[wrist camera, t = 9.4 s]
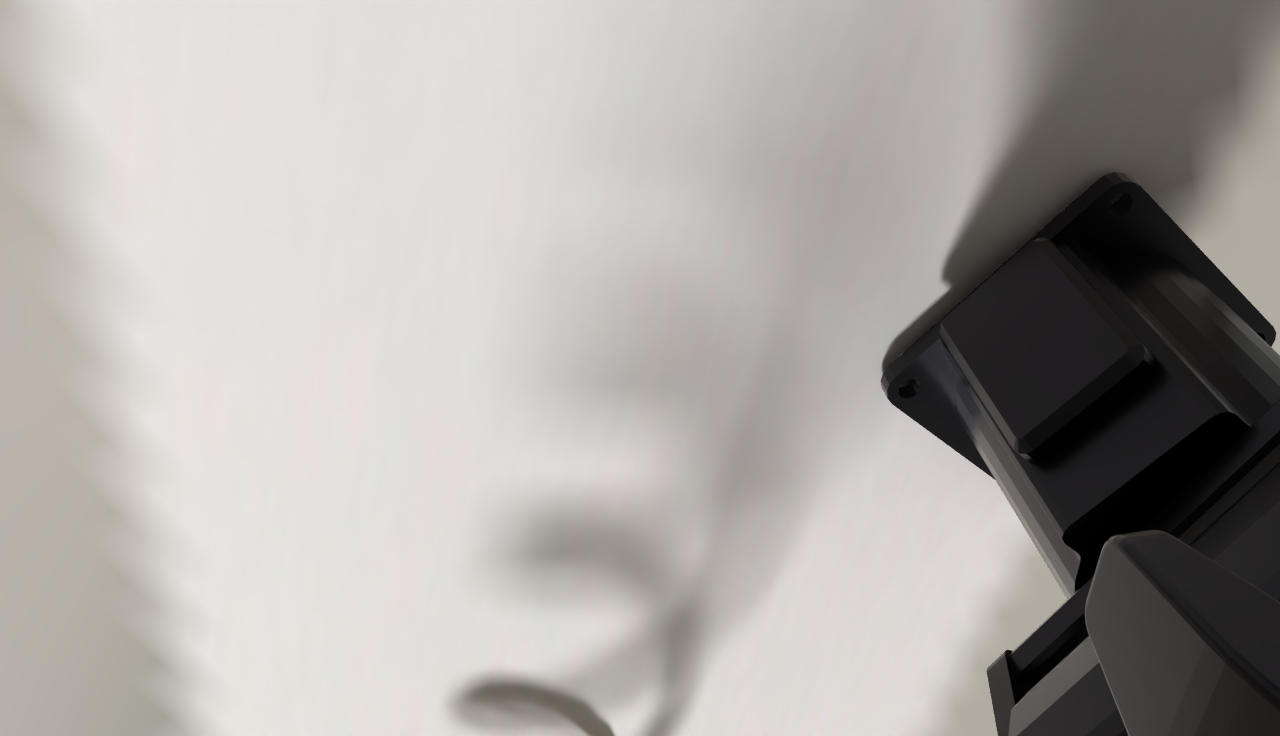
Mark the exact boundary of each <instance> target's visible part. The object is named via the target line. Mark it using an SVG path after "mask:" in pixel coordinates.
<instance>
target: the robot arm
mask: <svg viewBox="0 0 1280 736" xmlns="http://www.w3.org/2000/svg"><path fill="white" fill-rule="evenodd" d="M1121 193H1122V196H1121V198H1120V199H1119V201H1118V202H1117V203H1115V204H1114V205H1112V206H1109V207H1107V206H1108V203H1109V201H1110V200H1111V199H1112V198H1113V197H1114V196H1116V195H1118V194H1121ZM1275 337H1276V332H1275V330H1274V327H1273V326H1272V325H1271V324H1270V323H1269V322H1268V321H1267V320H1266V319H1265V318H1264V317H1263V316H1262V314H1261V313H1259V311H1258V310H1257V309H1256V308H1255V307H1254V306H1253V305H1252V304H1251V303H1250V302H1249V301H1248V300H1247V299H1246V298H1245V296H1244V295H1243V294H1242V293H1241V292H1240V291H1239V290H1238V289H1237V288H1236V287H1235V286H1234V285H1233V284H1232V283H1231V282H1230V281H1229V280H1228V278H1227V277H1226V276H1225V275H1224V274H1223V273H1222V272H1221V271H1220V270H1219V269H1218V268H1217V267H1216V266H1215V265H1214V264H1213V263H1212V261H1211V260H1210V259H1209V258H1208V257H1207V256H1206V255H1205V254H1204V253H1203V252H1202V251H1201V250H1200V249H1199V248H1198V247H1197V246H1196V245H1195V243H1194V242H1193V241H1192V240H1191V239H1190V238H1189V237H1188V236H1187V235H1186V234H1185V233H1184V232H1183V231H1182V230H1181V229H1180V228H1179V227H1178V225H1177V224H1176V223H1175V222H1174V221H1173V220H1172V219H1171V218H1170V217H1169V216H1168V215H1167V214H1166V213H1165V212H1164V211H1163V210H1162V209H1161V207H1160V206H1159V205H1158V204H1157V203H1156V202H1155V201H1154V200H1153V199H1152V198H1151V197H1150V196H1149V195H1148V194H1147V193H1146V192H1145V191H1144V189H1143V188H1142V187H1141V186H1140V185H1138V184H1137V183H1136V182H1135V181H1134V180H1133V179H1132V178H1131V177H1129V176H1127V175H1126V174H1124V173H1112V174H1108V175H1105V176H1104V177H1102V178H1101V179H1099V180H1098V181H1096V182H1095V183H1094V184H1093V185H1092V186H1090V187H1089V188H1088V189H1087V190H1086V191H1085V192H1084V193H1083V194H1082V195H1080V196H1079V197H1078V198H1077V199H1076V200H1075V201H1074V202H1073V203H1071V204H1070V205H1069V206H1068V207H1067V208H1066V209H1065V210H1064V211H1062V212H1061V213H1060V214H1059V215H1058V216H1057V217H1056V218H1055V219H1054V220H1052V221H1051V222H1050V223H1049V224H1048V225H1047V226H1046V227H1045V228H1043V229H1042V230H1041V231H1040V232H1039V233H1038V234H1037V235H1036V236H1034V237H1033V238H1032V239H1031V240H1030V241H1029V242H1028V243H1027V244H1026V245H1024V246H1023V247H1022V248H1021V249H1020V250H1019V251H1018V252H1017V253H1015V254H1014V255H1013V256H1012V257H1011V258H1010V259H1009V260H1008V261H1006V262H1005V263H1004V264H1003V265H1002V266H1001V267H1000V268H999V269H998V270H996V271H995V272H994V273H993V274H992V275H991V276H990V277H989V278H987V279H986V280H985V281H984V282H983V283H982V284H981V285H980V286H978V287H977V288H976V289H975V290H974V291H973V292H972V293H971V294H969V295H968V296H967V297H966V298H965V299H964V300H963V301H962V302H961V303H959V304H958V305H957V306H956V307H955V308H954V309H953V310H952V311H950V312H949V313H948V314H947V315H946V316H945V317H944V318H943V319H941V320H940V321H939V322H938V323H937V324H936V325H935V326H934V327H933V328H931V329H930V330H929V331H928V332H927V333H926V334H925V335H924V336H922V337H921V338H920V339H919V340H918V341H917V342H916V343H915V344H913V345H912V346H911V347H910V348H909V349H908V350H907V351H906V352H905V353H903V354H902V355H901V356H900V357H899V358H898V359H897V360H896V361H894V362H893V363H892V364H891V365H890V366H889V367H888V368H887V369H886V371H885V372H884V373H883V376H882V379H881V385H882V389H883V391H884V392H885V394H886V396H887V398H888V400H889V401H890V402H891V403H892V404H893V405H894V406H896V407H897V408H898V409H900V410H901V411H902V412H904V413H905V414H906V415H908V416H909V417H911V418H912V419H913V420H915V421H916V422H917V423H919V424H920V425H921V426H923V427H924V428H926V429H927V430H928V431H930V432H931V433H932V434H934V435H935V436H936V437H938V438H939V439H940V440H942V441H943V442H945V443H946V444H947V445H949V446H950V447H951V448H953V449H954V450H955V451H957V452H958V453H960V454H961V455H962V456H964V457H965V458H966V459H968V460H969V461H970V462H972V463H973V464H975V465H976V466H977V467H979V468H980V469H981V470H983V471H984V472H985V473H987V474H988V475H989V476H991V477H992V478H994V479H995V480H996V481H997V483H998V485H999V486H1000V488H1001V490H1002V491H1003V493H1004V495H1005V496H1006V498H1007V500H1008V501H1009V503H1010V505H1011V506H1012V508H1013V510H1014V511H1015V513H1016V514H1017V516H1018V518H1019V519H1020V521H1021V523H1022V524H1023V526H1024V528H1025V529H1026V531H1027V533H1028V534H1029V536H1030V538H1031V539H1032V541H1033V543H1034V544H1035V546H1036V548H1037V549H1038V551H1039V553H1040V554H1041V556H1042V558H1043V559H1044V561H1045V563H1046V564H1047V566H1048V568H1049V569H1050V571H1051V573H1052V574H1053V576H1054V577H1055V579H1056V581H1057V582H1058V584H1059V586H1060V587H1061V589H1062V591H1063V592H1064V594H1065V596H1066V597H1067V599H1068V600H1066V601H1065V602H1064V603H1063V604H1062V605H1061V606H1060V607H1059V608H1058V609H1057V610H1056V611H1055V612H1054V613H1053V614H1052V615H1051V616H1050V617H1049V618H1047V620H1046V621H1044V622H1043V624H1041V625H1040V626H1039V627H1038V628H1037V629H1036V630H1035V631H1034V632H1033V633H1032V634H1031V635H1030V636H1029V637H1028V638H1026V639H1025V640H1024V641H1023V642H1022V643H1021V644H1020V645H1019V646H1018V647H1017V648H1016V649H1015V650H1014V651H1011V650H1006V651H1005V652H1004V653H1003V654H1002V655H1001V656H1000V657H999V658H998V659H997V660H996V661H995V662H994V663H992V664H991V665H990V666H989V667H988V668H987V675H988V681H989V687H990V693H991V698H992V704H993V710H994V715H995V721H996V727H997V732H998V736H1280V355H1279V354H1278V353H1277V352H1275V351H1274V349H1272V348H1271V346H1272V344H1273V343H1274V341H1275ZM909 379H914V380H913V381H912V382H911V384H909V385H907V386H905V387H899V386H900V385H901V384H902V383H903V382H904V381H906V380H909Z"/></svg>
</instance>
